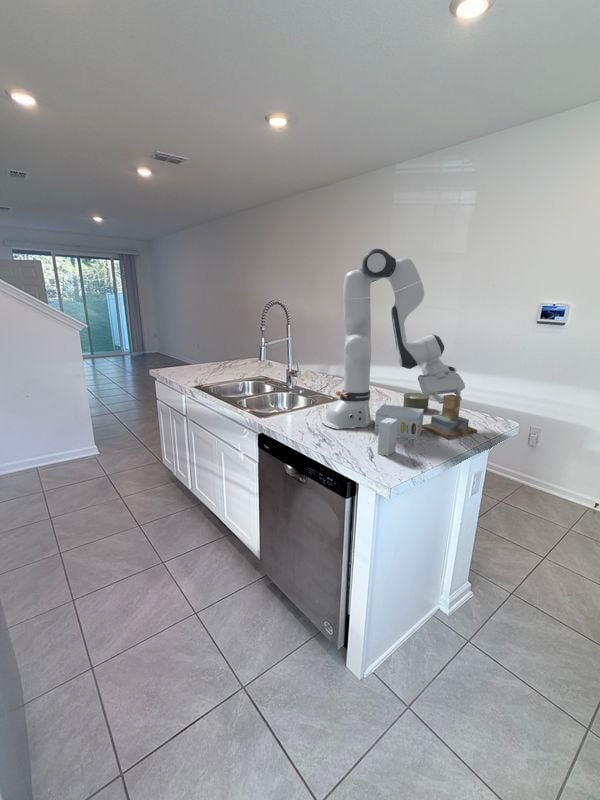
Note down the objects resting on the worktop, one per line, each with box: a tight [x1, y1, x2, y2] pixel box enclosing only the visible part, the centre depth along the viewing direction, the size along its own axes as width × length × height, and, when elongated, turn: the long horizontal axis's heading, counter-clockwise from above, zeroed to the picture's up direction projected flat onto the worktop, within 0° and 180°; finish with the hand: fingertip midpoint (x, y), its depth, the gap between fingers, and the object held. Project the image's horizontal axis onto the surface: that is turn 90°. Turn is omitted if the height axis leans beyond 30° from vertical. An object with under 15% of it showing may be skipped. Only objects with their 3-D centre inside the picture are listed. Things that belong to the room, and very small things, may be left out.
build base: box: [422, 414, 478, 440], centre depth 150 cm, size 16×14×6 cm
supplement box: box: [374, 403, 425, 441], centre depth 150 cm, size 17×13×9 cm
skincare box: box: [377, 418, 398, 457], centre depth 128 cm, size 6×4×12 cm
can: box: [402, 392, 430, 413], centre depth 180 cm, size 12×12×7 cm
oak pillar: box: [441, 393, 462, 420], centre depth 148 cm, size 4×4×9 cm
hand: (451, 401), depth 148 cm, fingers open, 8 cm apart
